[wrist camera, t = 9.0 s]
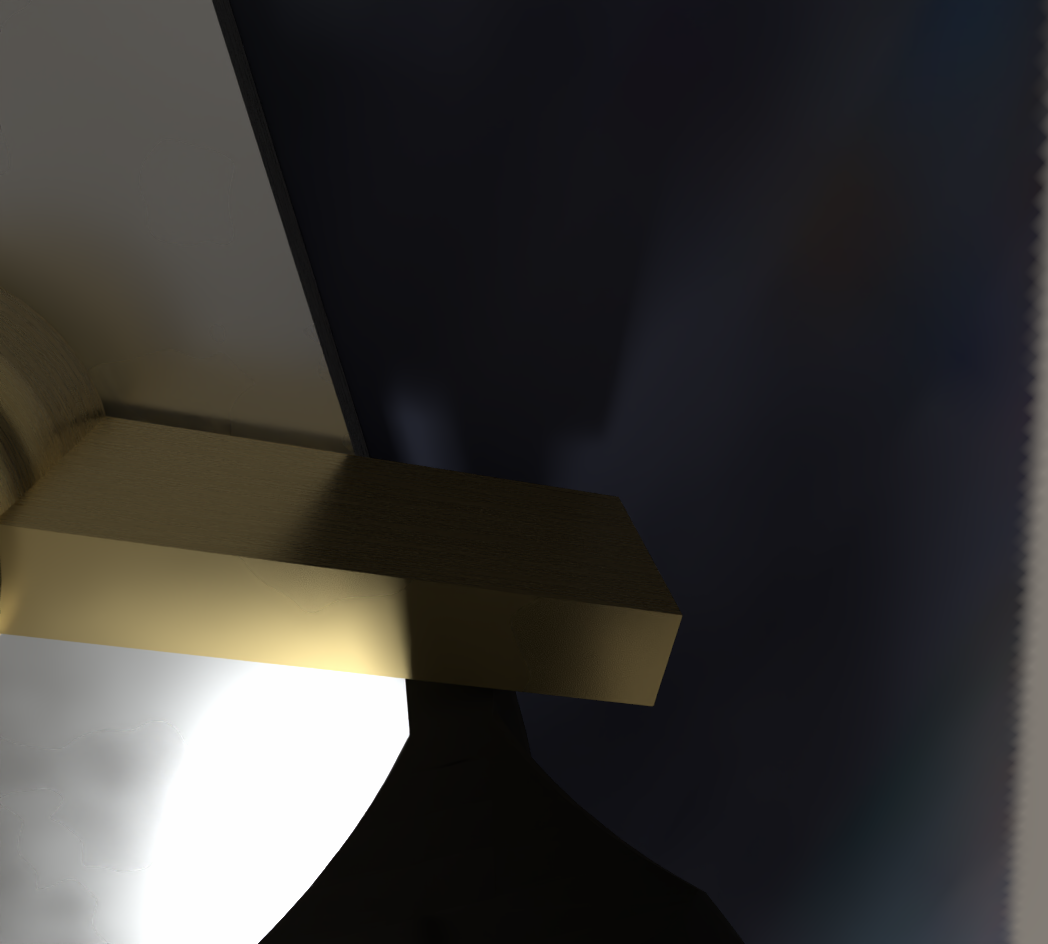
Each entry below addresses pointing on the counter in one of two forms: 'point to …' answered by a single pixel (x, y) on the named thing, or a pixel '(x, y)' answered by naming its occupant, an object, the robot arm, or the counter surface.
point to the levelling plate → (186, 402)
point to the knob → (307, 550)
